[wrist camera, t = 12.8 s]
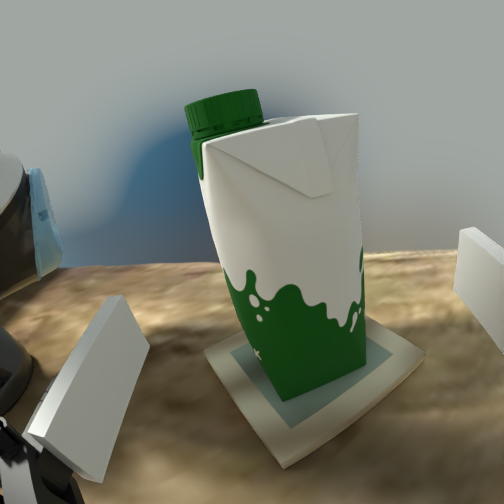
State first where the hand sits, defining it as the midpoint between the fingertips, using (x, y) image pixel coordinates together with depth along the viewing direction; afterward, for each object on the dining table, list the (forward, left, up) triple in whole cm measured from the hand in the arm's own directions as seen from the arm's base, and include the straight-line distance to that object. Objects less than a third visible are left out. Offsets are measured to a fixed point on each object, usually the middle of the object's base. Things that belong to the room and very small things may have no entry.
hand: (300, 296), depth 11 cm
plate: (-8, +4, -14) cm, 16 cm away
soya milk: (-8, +4, -13) cm, 15 cm away
